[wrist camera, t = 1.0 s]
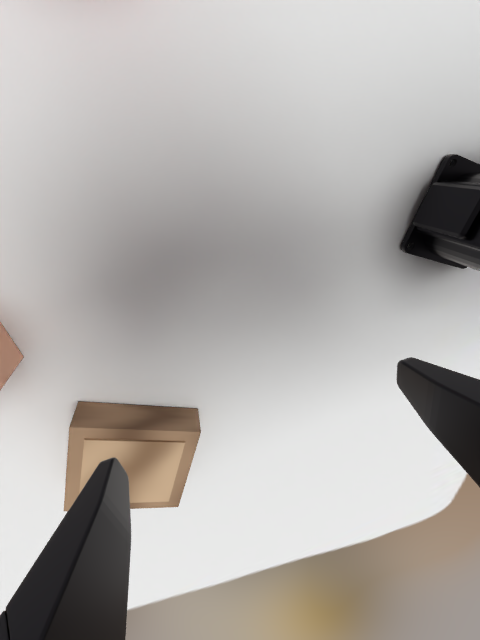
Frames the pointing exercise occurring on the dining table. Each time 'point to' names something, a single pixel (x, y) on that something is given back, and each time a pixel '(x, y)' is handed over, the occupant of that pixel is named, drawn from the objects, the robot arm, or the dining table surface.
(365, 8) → the dining table surface
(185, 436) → the base block
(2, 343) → the terracotta block
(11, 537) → the dining table surface
